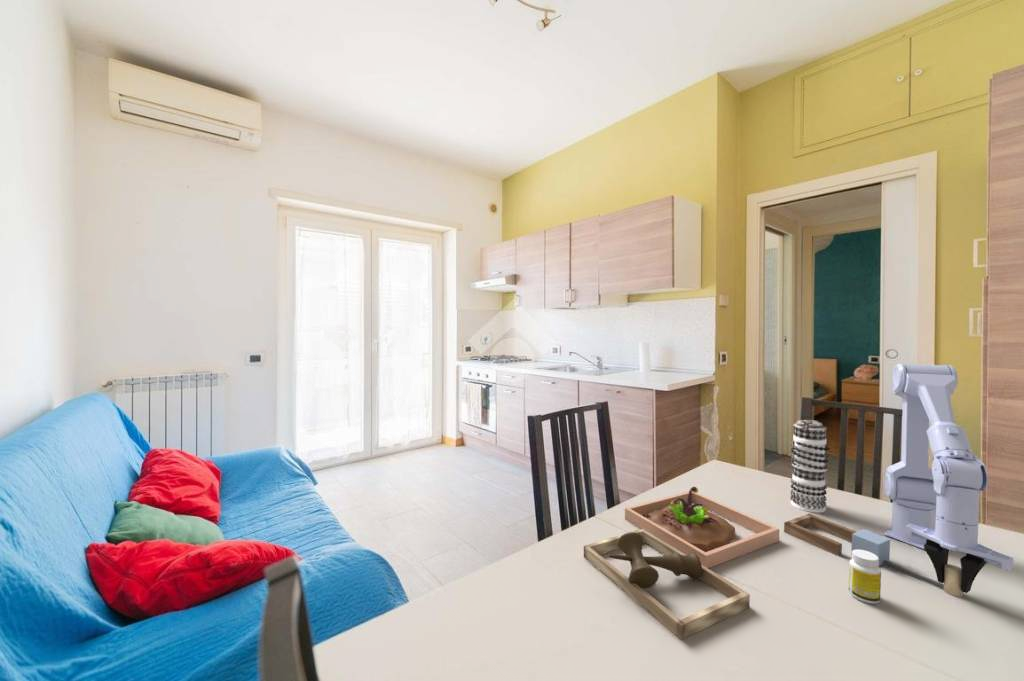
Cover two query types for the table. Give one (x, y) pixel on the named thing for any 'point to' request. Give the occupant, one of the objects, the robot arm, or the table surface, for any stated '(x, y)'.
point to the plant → (694, 524)
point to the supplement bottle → (864, 576)
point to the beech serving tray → (679, 627)
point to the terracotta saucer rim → (726, 552)
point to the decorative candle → (809, 466)
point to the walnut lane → (798, 530)
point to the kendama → (654, 562)
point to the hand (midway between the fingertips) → (953, 585)
